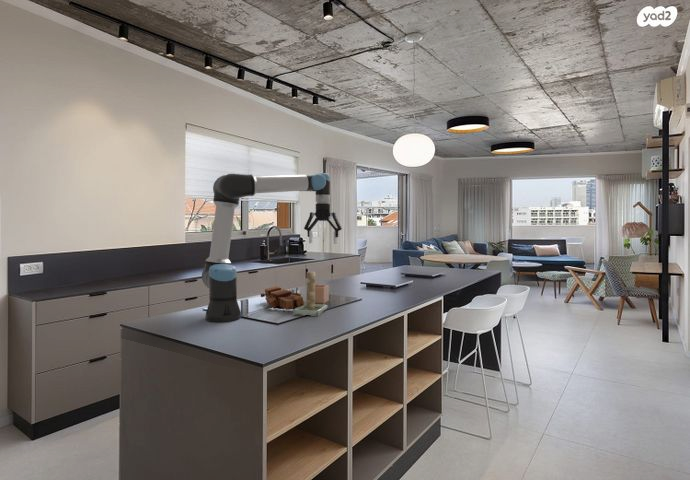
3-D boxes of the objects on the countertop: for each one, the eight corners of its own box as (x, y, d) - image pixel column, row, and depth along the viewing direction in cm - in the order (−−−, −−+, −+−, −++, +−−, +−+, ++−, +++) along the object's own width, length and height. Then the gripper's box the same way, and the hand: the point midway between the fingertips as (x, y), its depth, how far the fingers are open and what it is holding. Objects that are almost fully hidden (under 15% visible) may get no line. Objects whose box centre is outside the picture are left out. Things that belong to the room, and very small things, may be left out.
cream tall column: (305, 311, 200) (305, 272, 199) (308, 309, 204) (308, 271, 202) (313, 311, 199) (313, 273, 198) (316, 309, 202) (316, 272, 201)
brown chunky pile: (311, 307, 206) (283, 296, 231) (309, 290, 205) (281, 281, 229) (280, 316, 197) (254, 304, 221) (277, 298, 196) (252, 288, 220)
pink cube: (309, 304, 218) (309, 286, 218) (314, 301, 226) (314, 284, 226) (323, 305, 216) (323, 287, 216) (328, 302, 224) (328, 285, 223)
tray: (293, 314, 196) (293, 309, 196) (304, 308, 209) (304, 303, 209) (317, 316, 193) (317, 311, 193) (327, 309, 206) (327, 305, 206)
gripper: (297, 203, 224) (298, 243, 225) (343, 202, 217) (343, 244, 218) (303, 203, 231) (303, 242, 232) (347, 203, 224) (347, 243, 225)
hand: (322, 243), depth 225 cm, fingers open, 13 cm apart
